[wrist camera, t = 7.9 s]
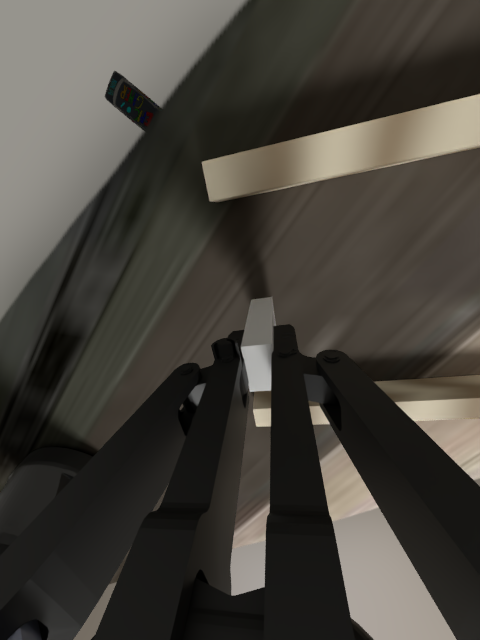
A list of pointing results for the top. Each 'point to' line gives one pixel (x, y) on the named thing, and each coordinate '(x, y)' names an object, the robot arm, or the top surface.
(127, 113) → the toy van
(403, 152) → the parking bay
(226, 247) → the top surface
